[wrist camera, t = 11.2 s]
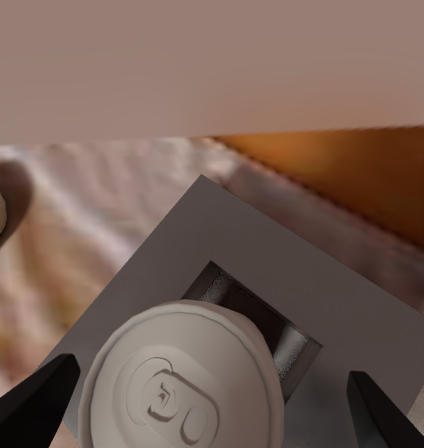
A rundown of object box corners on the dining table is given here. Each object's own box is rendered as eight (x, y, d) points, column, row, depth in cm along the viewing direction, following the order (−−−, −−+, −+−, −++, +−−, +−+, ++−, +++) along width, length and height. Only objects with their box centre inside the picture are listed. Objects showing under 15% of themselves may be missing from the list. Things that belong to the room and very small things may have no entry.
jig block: (258, 582, 13) (258, 687, 9) (77, 364, 18) (30, 376, 14) (405, 329, 16) (452, 332, 12) (211, 200, 21) (201, 174, 17)
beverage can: (214, 298, 18) (145, 263, 7) (281, 335, 17) (326, 366, 6) (179, 366, 17) (29, 454, 6) (247, 412, 16) (217, 645, 4)
